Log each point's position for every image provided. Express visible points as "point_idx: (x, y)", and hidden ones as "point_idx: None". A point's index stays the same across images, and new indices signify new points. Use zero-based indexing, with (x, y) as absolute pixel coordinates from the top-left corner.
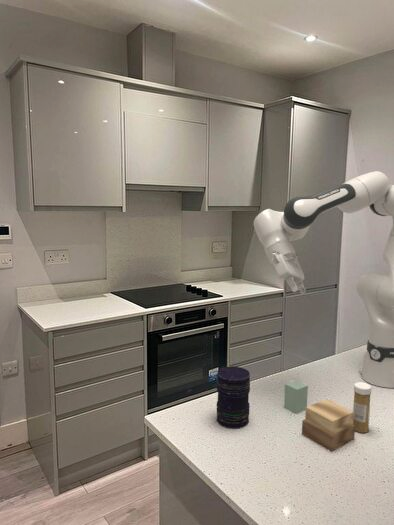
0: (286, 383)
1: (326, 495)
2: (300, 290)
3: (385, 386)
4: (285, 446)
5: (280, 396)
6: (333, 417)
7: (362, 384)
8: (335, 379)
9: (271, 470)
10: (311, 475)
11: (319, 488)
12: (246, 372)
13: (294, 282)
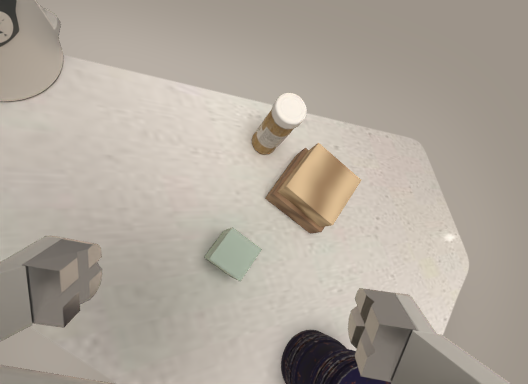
0: (237, 278)
1: (414, 197)
2: (80, 294)
3: (61, 60)
4: (349, 254)
5: (180, 292)
6: (348, 177)
7: (287, 107)
8: (33, 168)
9: (402, 264)
10: (391, 214)
11: (408, 204)
12: (349, 379)
13: (464, 356)
